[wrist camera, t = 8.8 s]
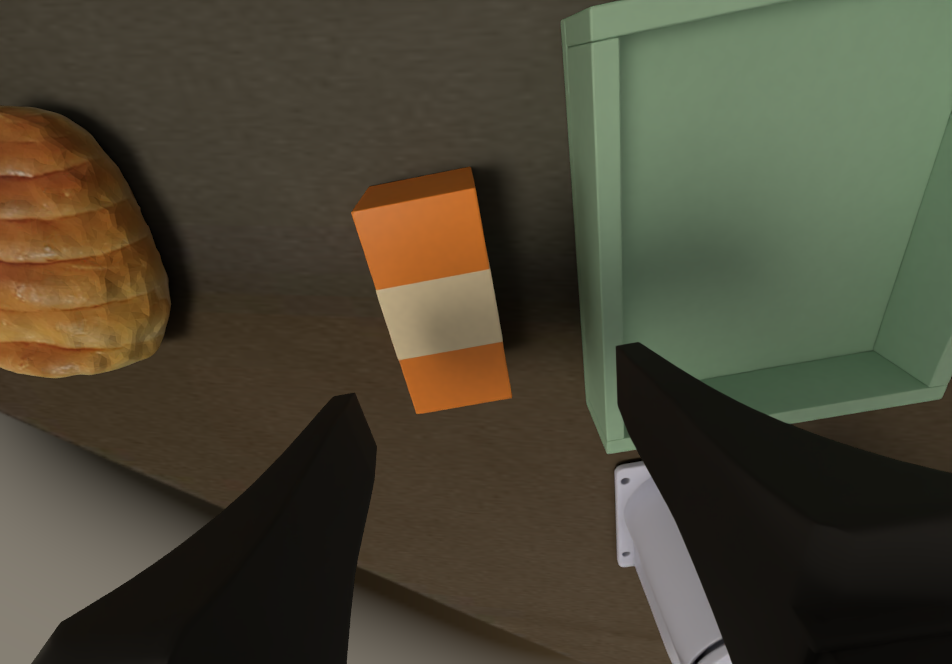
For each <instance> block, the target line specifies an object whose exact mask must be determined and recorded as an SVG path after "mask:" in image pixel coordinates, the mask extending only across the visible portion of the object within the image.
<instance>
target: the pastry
mask: <svg viewBox="0 0 952 664" xmlns="http://www.w3.org/2000/svg"><path fill="white" fill-rule="evenodd" d="M140 209H141V207H140V206H138V204H137V202H136V199H135V197H134V195H133V193H132V191H131V189H130V187H129V185H128V183H127V182H126V180H125V179H124V177H123V175H122V173H121V172H120V170H119V168H118V166H117V165H116V164H115V163H114V162H113V161H112V160H111V159H110V158H109V156H108V155H107V154H106V153H105V152H104V151H103V149H102V148H101V147H100V146H99V144H98V143H97V141H96V140H95V139H94V137H93V136H92V135H91V134H90V133H89V132H88V131H86V130H85V129H84V128H82V127H81V126H79V125H77V124H76V123H74V122H73V121H71V120H70V119H69V118H67V117H65V116H63V115H61V114H58V113H55V112H51V111H46V110H42V109H39V108H33V107H20V106H1V105H0V367H1V368H3V369H6V370H10V371H13V372H15V373H19V374H27V375H33V376H40V377H47V378H61V377H67V376H72V375H78V374H86V375H92V374H98V373H103V372H108V371H111V370H115V369H119V368H122V367H125V366H128V365H130V364H132V363H135V362H137V361H140V360H143V359H146V358H149V357H150V356H152V355H153V354H155V353H156V351H157V350H158V348H159V347H160V344H161V342H162V340H163V336H164V333H165V329H166V325H167V322H168V318H169V314H170V307H171V301H170V296H169V288H168V282H169V279H168V276H167V274H166V271H165V269H164V267H163V264H162V262H161V256H160V254H159V252H158V251H157V249H156V247H155V244H154V240H153V237H152V235H151V232H150V229H149V226H148V225H147V224H146V223H145V221H144V219H143V217H142V214H141V212H140Z"/></svg>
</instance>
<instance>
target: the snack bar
mask: <svg viewBox="0 0 952 664" xmlns="http://www.w3.org/2000/svg"><path fill="white" fill-rule="evenodd" d="M351 214H352V217H353V220H354V223H355V226H356V229H357V232H358V235H359V238H360V241H361V244H362V247H363V251H364V254H365V257H366V260H367V263H368V266H369V269H370V272H371V275H372V278H373V281H374V284H375V288H376V293H377V296H378V299H379V302H380V305H381V308H382V311H383V315H384V318H385V321H386V324H387V327H388V330H389V333H390V336H391V339H392V342H393V345H394V348H395V351H396V354H397V358H398V360H399V361H400V365H401V368H402V371H403V374H404V377H405V380H406V383H407V386H408V389H409V392H410V395H411V398H412V402H413V405H414V408H415V411H416V414H422V413H428V412H434V411H439V410H445V409H451V408H457V407H462V406H468V405H474V404H480V403H486V402H491V401H497V400H503V399H509V398H512V392H511V386H510V381H509V375H508V369H507V364H506V358H505V352H504V347H503V338H502V332H501V326H500V321H499V315H498V309H497V304H496V298H495V292H494V287H493V281H492V275H491V269H490V265H489V260H488V255H487V250H486V244H485V239H484V233H483V227H482V222H481V216H480V210H479V205H478V199H477V193H476V188H475V183H474V179H473V174H472V170H471V167H466V168H461V169H456V170H451V171H446V172H441V173H436V174H431V175H425V176H420V177H415V178H410V179H405V180H400V181H395V182H390V183H385V184H380V185H375V186H370V187H369V188H368V189H367V191H366V192H365V193H364V195H363V196H362V198H361V199H360V201H359V202H358V203H357V205H356V206H355V208H354V209H353V210H352V212H351Z"/></svg>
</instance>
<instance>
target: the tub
mask: <svg viewBox="0 0 952 664" xmlns="http://www.w3.org/2000/svg"><path fill="white" fill-rule="evenodd" d="M561 35H562V50H563V65H564V79H565V94H566V109H567V124H568V139H569V154H570V169H571V183H572V198H573V213H574V228H575V243H576V258H577V273H578V288H579V302H580V317H581V332H582V347H583V362H584V377H585V392H586V404H587V406H588V409H589V411H590V413H591V416H592V418H593V421H594V423H595V426H596V428H597V431H598V433H599V435H600V438H601V440H602V443H603V445H604V448H605V450H606V452H607V454H611V453H617V452H623V451H629V450H635V449H636V448H635V446H634V444H633V442H632V440H631V438H630V436H629V434H628V431H627V429H626V426H625V424H624V421H623V418H622V416H621V413H620V410H619V408H618V405H617V376H616V346H618V345H624V344H629V343H635V342H640V343H641V344H643V345H644V346H646V347H648V348H649V349H651V350H652V351H654V352H655V353H657V354H658V355H660V356H661V357H663V358H664V359H666V360H668V361H669V362H671V363H672V364H674V365H675V366H677V367H678V368H680V369H682V370H683V371H685V372H687V373H688V374H690V375H691V376H693V377H695V378H696V379H698V380H700V381H702V382H703V383H705V384H707V385H709V386H710V387H712V388H714V389H716V390H718V391H719V392H721V393H723V394H725V395H727V396H729V397H731V398H733V399H735V400H736V401H738V402H741V403H743V404H745V405H747V406H749V407H751V408H753V409H755V410H758V411H760V412H762V413H764V414H767V415H769V416H771V417H773V418H776V419H778V420H780V421H783V422H785V423H788V424H792V423H799V422H805V421H811V420H817V419H823V418H829V417H835V416H841V415H847V414H853V413H859V412H865V411H871V410H877V409H883V408H889V407H895V406H901V405H907V404H913V403H920V402H926V401H932V400H938V399H941V398H942V396H943V394H944V392H945V390H946V388H947V384H948V383H949V380H950V378H951V376H952V0H619V1H614V2H610V3H605V4H600V5H596V6H591V7H589V8H587V9H585V10H583V11H580V12H578V13H576V14H574V15H572V16H570V17H567V18H565V19H563V20H561Z"/></svg>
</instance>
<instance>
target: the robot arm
mask: <svg viewBox="0 0 952 664" xmlns="http://www.w3.org/2000/svg"><path fill="white" fill-rule="evenodd" d="M616 376H617V405H618V408H619V410H620V413H621V416H622V418H623V421H624V424H625V426H626V429H627V431H628V434H629V436H630V438H631V440H632V442H633V444H634V446H635V448H636V449H637V451H638V453H639V455H640V457H641V459H642V461H639V462H633V463H627V464H622V465H619V466H618V467H617V468H616V469H615V507H616V543H617V561H618V564H619V565H620V566H621V567H630V566H635V567H636V570H637V573H638V575H639V578H640V581H641V583H642V586H643V589H644V591H645V594H646V597H647V599H648V602H649V605H650V608H651V610H652V613H653V616H654V618H655V621H656V624H657V626H658V629H659V632H660V634H661V637H662V640H663V642H664V645H665V648H666V650H667V653H668V655H669V657H670V659H671V662H672V664H952V473H948V472H944V471H940V470H936V469H932V468H928V467H924V466H920V465H915V464H911V463H907V462H903V461H899V460H896V459H892V458H889V457H885V456H882V455H878V454H875V453H872V452H868V451H865V450H862V449H858V448H855V447H852V446H849V445H846V444H843V443H840V442H837V441H833V440H831V439H828V438H825V437H822V436H819V435H817V434H814V433H811V432H809V431H806V430H803V429H800V428H798V427H795V426H793V425H790V424H788V423H785V422H783V421H780V420H778V419H776V418H773V417H771V416H769V415H767V414H764V413H762V412H760V411H758V410H755V409H753V408H751V407H749V406H747V405H745V404H743V403H741V402H738V401H736V400H735V399H733V398H731V397H729V396H727V395H725V394H723V393H721V392H719V391H718V390H716V389H714V388H712V387H710V386H709V385H707V384H705V383H703V382H702V381H700V380H698V379H696V378H695V377H693V376H691V375H690V374H688V373H687V372H685V371H683V370H682V369H680V368H678V367H677V366H675V365H674V364H672V363H671V362H669V361H668V360H666V359H664V358H663V357H661V356H660V355H658V354H657V353H655V352H654V351H652V350H651V349H649V348H648V347H646V346H644V345H643V344H641V343H640V342H635V343H629V344H624V345H618V346H616ZM376 451H377V446H376V443H375V441H374V438H373V436H372V433H371V431H370V428H369V426H368V424H367V421H366V419H365V416H364V414H363V411H362V409H361V406H360V404H359V402H358V399H357V397H356V394H355V393H350V394H345V395H339V396H334V397H333V398H332V399H331V400H330V401H329V402H328V403H327V404H326V405H325V406H324V407H323V408H322V410H321V411H320V412H319V413H318V414H317V415H316V416H315V418H314V419H313V420H312V421H311V422H310V423H309V425H308V426H307V427H306V428H305V429H304V430H303V431H302V432H301V434H300V435H299V436H298V437H297V438H296V439H295V440H294V441H293V443H292V444H291V445H290V446H289V447H288V448H287V449H286V450H285V451H284V452H283V454H282V455H281V456H280V457H279V458H278V459H277V460H276V461H275V462H274V463H273V464H272V465H271V466H270V467H269V468H268V469H267V470H266V471H265V472H264V473H263V474H262V475H261V476H260V477H259V478H258V479H257V480H256V481H255V482H254V483H253V484H252V485H251V486H250V487H249V488H248V489H247V490H246V491H245V492H244V493H243V494H241V495H240V496H239V497H238V498H237V499H236V500H235V501H234V502H232V503H231V504H230V505H229V506H228V507H227V508H226V509H225V510H223V511H222V512H221V513H220V514H219V515H218V516H216V517H215V518H214V519H212V520H211V521H210V522H209V523H207V524H206V525H205V526H204V527H202V528H201V529H200V530H198V531H197V532H196V533H195V534H193V535H192V536H191V537H190V538H188V539H187V540H186V541H185V542H183V543H182V544H181V545H179V546H178V547H177V548H175V549H174V550H172V551H171V552H170V553H168V554H167V555H165V556H164V557H163V558H161V559H160V560H158V561H157V562H156V563H154V564H153V565H151V566H150V567H148V568H147V569H145V570H144V571H142V572H141V573H139V574H138V575H136V576H135V577H134V578H132V579H131V580H129V581H127V582H126V583H124V584H123V585H121V586H120V587H118V588H116V589H115V590H113V591H112V592H110V593H108V594H107V595H105V596H103V597H102V598H100V599H99V600H97V601H95V602H94V603H92V604H90V605H89V606H87V607H86V608H84V609H82V610H81V611H79V612H77V613H76V614H74V615H73V616H71V617H69V618H67V619H66V620H64V621H62V622H61V623H60V624H59V625H58V627H57V628H56V630H55V631H54V633H53V634H52V635H51V637H50V638H49V639H48V641H47V642H46V644H45V645H44V647H43V648H42V649H41V651H40V652H39V654H38V655H37V657H36V658H35V659H34V661H33V662H32V664H347V651H348V639H349V628H350V616H351V607H352V597H353V589H354V580H355V579H354V578H355V572H356V566H357V561H358V555H359V550H360V546H361V541H362V537H363V532H364V527H365V523H366V518H367V513H368V509H369V504H370V499H371V494H372V489H373V484H374V478H375V467H376Z"/></svg>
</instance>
